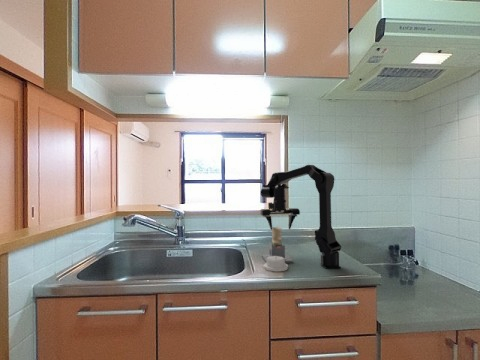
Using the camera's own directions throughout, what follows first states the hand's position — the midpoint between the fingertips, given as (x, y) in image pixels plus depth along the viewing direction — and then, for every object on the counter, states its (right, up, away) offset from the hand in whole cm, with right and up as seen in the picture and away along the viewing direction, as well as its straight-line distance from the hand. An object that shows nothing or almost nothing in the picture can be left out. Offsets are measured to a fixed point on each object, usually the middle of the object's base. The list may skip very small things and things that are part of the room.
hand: (280, 229), depth 135 cm
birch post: (-3, -8, -9) cm, 12 cm away
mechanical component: (-5, -13, -21) cm, 25 cm away
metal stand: (-3, -12, -9) cm, 16 cm away
